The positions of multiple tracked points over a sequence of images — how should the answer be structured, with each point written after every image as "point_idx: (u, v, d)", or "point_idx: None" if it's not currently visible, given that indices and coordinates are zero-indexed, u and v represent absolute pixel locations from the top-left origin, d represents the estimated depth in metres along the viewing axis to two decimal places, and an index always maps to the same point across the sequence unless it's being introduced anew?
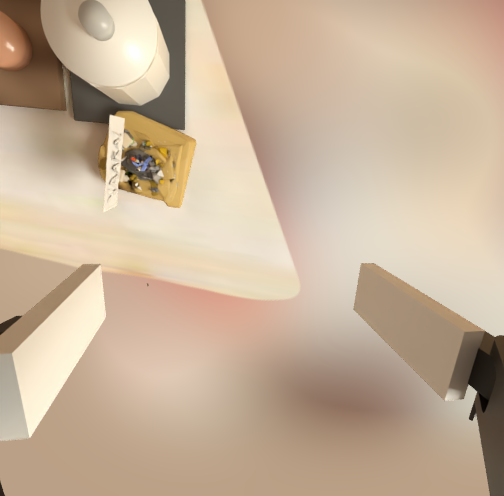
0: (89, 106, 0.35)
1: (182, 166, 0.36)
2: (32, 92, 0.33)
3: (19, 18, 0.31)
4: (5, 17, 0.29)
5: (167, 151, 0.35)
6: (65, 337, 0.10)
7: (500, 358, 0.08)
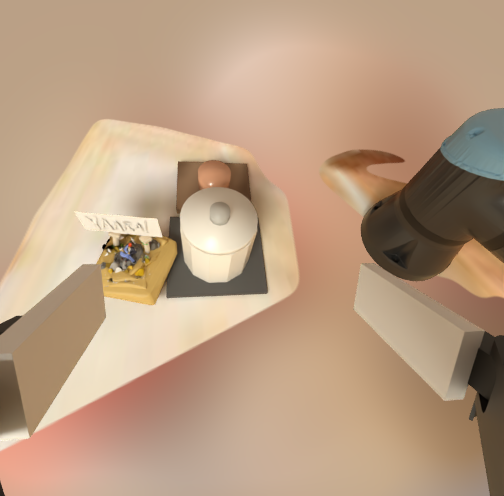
0: None
1: (125, 290, 0.36)
2: (186, 194, 0.47)
3: None
4: (225, 182, 0.46)
5: (139, 275, 0.37)
6: (65, 337, 0.10)
7: (500, 358, 0.08)
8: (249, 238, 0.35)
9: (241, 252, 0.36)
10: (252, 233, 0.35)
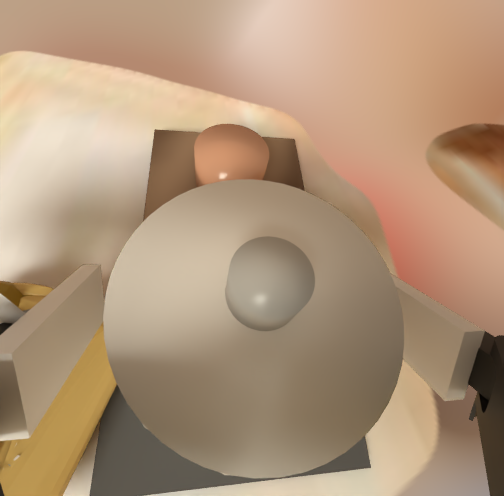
0: None
1: None
2: (167, 198, 0.21)
3: None
4: (256, 172, 0.20)
5: None
6: (65, 337, 0.10)
7: (500, 358, 0.08)
8: (388, 390, 0.08)
9: None
10: (394, 364, 0.09)
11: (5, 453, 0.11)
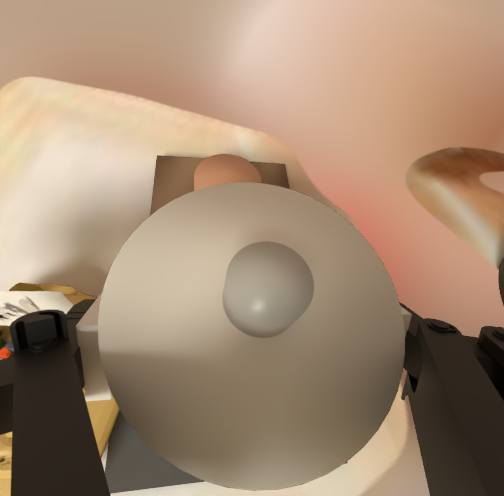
0: None
1: None
2: None
3: None
4: None
5: None
6: None
7: (425, 341, 0.09)
8: (388, 398, 0.08)
9: None
10: (395, 371, 0.09)
11: None
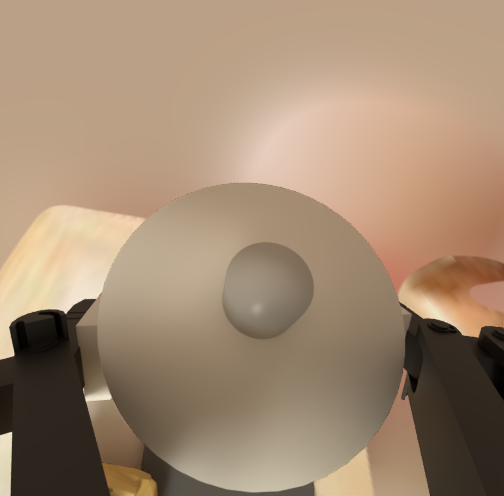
0: None
1: None
2: None
3: None
4: None
5: None
6: None
7: (425, 341, 0.09)
8: (388, 399, 0.08)
9: None
10: (395, 372, 0.09)
11: None
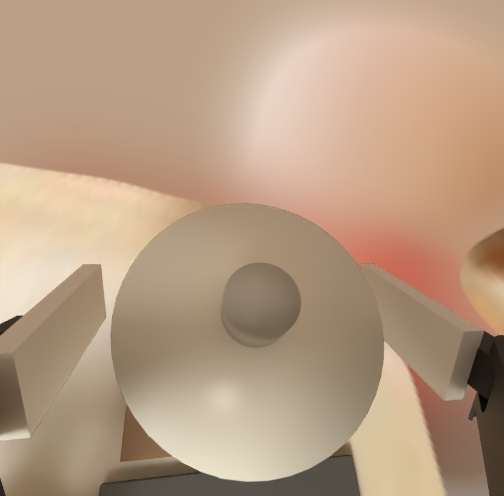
0: None
1: None
2: None
3: None
4: None
5: None
6: (65, 337, 0.10)
7: (499, 358, 0.08)
8: (367, 401, 0.09)
9: None
10: (374, 377, 0.10)
11: None
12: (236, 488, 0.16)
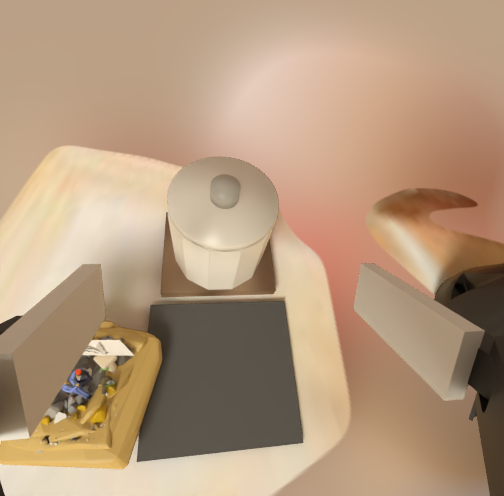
0: (166, 322, 0.29)
1: (73, 455, 0.21)
2: (176, 266, 0.31)
3: None
4: None
5: (98, 422, 0.22)
6: (65, 337, 0.10)
7: (500, 358, 0.08)
8: (267, 228, 0.24)
9: (255, 248, 0.25)
10: (271, 221, 0.24)
11: (110, 413, 0.22)
12: (220, 310, 0.30)
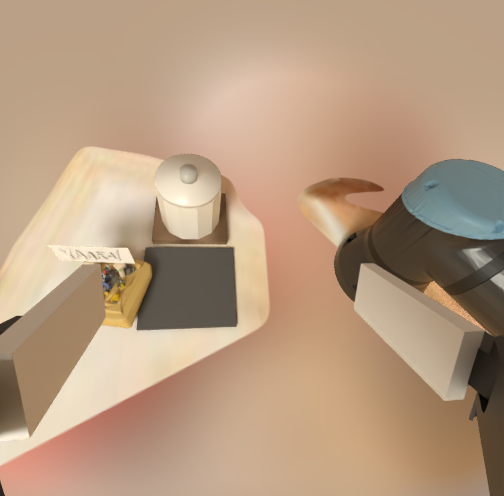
0: (155, 257, 0.46)
1: None
2: (162, 224, 0.49)
3: None
4: None
5: (115, 301, 0.39)
6: (65, 337, 0.10)
7: (500, 358, 0.08)
8: (212, 195, 0.41)
9: (206, 208, 0.42)
10: (215, 191, 0.42)
11: (121, 297, 0.39)
12: (190, 252, 0.48)
